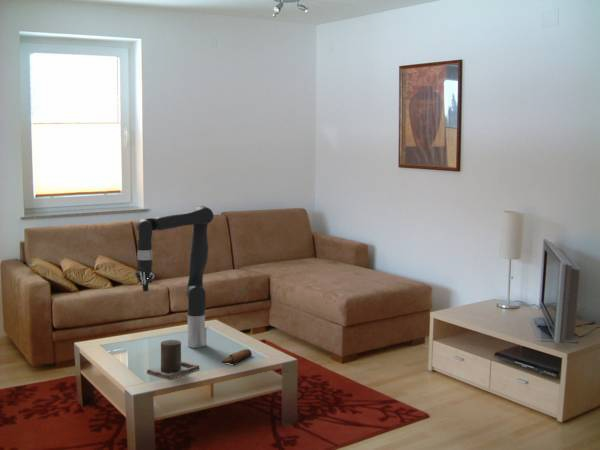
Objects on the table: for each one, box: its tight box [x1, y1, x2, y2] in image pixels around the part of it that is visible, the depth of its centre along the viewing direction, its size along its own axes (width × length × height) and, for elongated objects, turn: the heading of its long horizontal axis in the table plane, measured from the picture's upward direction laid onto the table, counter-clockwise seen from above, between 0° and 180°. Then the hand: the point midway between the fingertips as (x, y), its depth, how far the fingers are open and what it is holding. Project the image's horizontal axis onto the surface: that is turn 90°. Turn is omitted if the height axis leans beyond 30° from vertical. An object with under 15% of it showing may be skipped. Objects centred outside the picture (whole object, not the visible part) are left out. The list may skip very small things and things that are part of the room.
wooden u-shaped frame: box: [146, 360, 200, 380], centre depth 343 cm, size 16×19×2 cm
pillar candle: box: [160, 339, 182, 374], centre depth 343 cm, size 10×10×15 cm
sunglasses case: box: [220, 348, 253, 365], centre depth 361 cm, size 18×7×7 cm, turn 154°
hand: (145, 291), depth 370 cm, fingers closed
